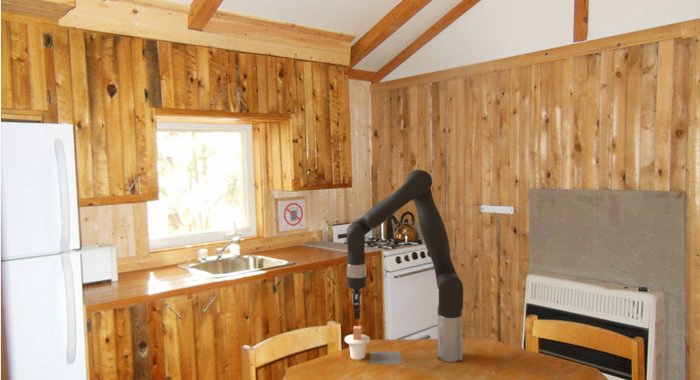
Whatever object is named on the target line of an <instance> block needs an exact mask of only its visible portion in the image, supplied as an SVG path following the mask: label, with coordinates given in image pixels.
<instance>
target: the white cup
mask: <svg viewBox="0 0 700 380" xmlns="http://www.w3.org/2000/svg"><path fill="white" fill-rule="evenodd" d="M348 345H349V353H350V354H349V355H350V358H351V359H353V360H362V359H363V360H364V359H365V357H366V349H367V344H365V345H350V344H348Z"/></svg>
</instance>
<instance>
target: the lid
mask: <svg viewBox="0 0 700 380" xmlns="http://www.w3.org/2000/svg"><path fill="white" fill-rule="evenodd" d="M352 332H353V333H352V334H349V335H346V336H345V337H344V342H345V343H346V344H348V345H349V344H350V345H365V344H366V345H367V344H370V342H371V337H370V336H368V335H366V334H362V326H361V325H353V331H352Z"/></svg>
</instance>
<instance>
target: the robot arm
mask: <svg viewBox="0 0 700 380" xmlns="http://www.w3.org/2000/svg"><path fill="white" fill-rule="evenodd" d="M432 186H433V178H432V176H431V174H430V173H429V172H428V171H426V170H423V169H414V170H412V171H411V172H410V173H408V176H407V177H406V181H404V183H403V184H402V185H401V186H400V187H399V188H397V190H396V191H394V192H393V193H391V194H389V195H388V196H387V197H385V198H383V200H381V201H379V202H378V203H377V204H375V205H374V206H372V208H370V209H369V210H368V211H367V212H366V213H365V214H363V215H362V216H361V217H359V218H357V219H355V220H354V221H353V222H352V223H351V224H349V225H348V227H347V229H346V246H347V251H346V253H347V254H346V259H347V261H346V263H347V264H346V285H347V286H346V287H347V288H349V289H352V290H351V297H352V298H351V300H352V301H351V302H352V306H353V308H352V309H353V318H354V320H355V321H356V320H360V319H361V311H362V310H361V309H362V308H361V305H362V299H363V298H362V297H363V290H361V289H365V288H366V287H367V266H366V251H365V245H366V235H368V233H370V232H371V231H372V230H373V229H376V228H378V227H380V226H381V225H382V224H383V223H385V222H386V221H387V220H388V219H390V218H391V217H392V216H394V214H395V213H397V212H398V211H399V210H400V209H401V208H403V207H404V206H405V205H407V204H408V203H410V202H411V201H413V202H414V204H415V207H416V212H417V213H416V214H417V218H418V223H419V227H420V231H421V235H422V238H423V241H424V245H425V248H426V249H427V250H426V251H427V252H428V254H429V257H430V259H431V261H432V265H433V269H434V274H435V279H436V286H437V290H438V306H437V358H438V359H439V360H440V361H444V362H449V363H451V362H453V363H454V362H459V361H463V355H464V354H463V353H464V352H463V349H464V347H463V345H464V342H463V341H464V339H463V338H464V337H463V336H464V335H463V332H462V331H463V330H462V329H463V328H462V325H463V323H462V322H463V319H462V318H463V309H464V285H463V282H462V280H461V278H460V277H459V276H458V273H457V271H456V269H455V267H454V264H453V261H452V257H451V250H450V248H451V247H450V243H449V236H448V233H447V229H446V226H445V224H444V220H443V219H442V216H441V213H440V212H439V210H438V208H437V206H436V203H435V200H434V198H433V197H434V196H433V193H432Z"/></svg>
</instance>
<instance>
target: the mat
mask: <svg viewBox="0 0 700 380" xmlns="http://www.w3.org/2000/svg"><path fill="white" fill-rule="evenodd" d="M369 354H370V356H369V357H370V359H369V362H370V363H369V364H370V365H403V362H402V353H401V351H370V353H369Z"/></svg>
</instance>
